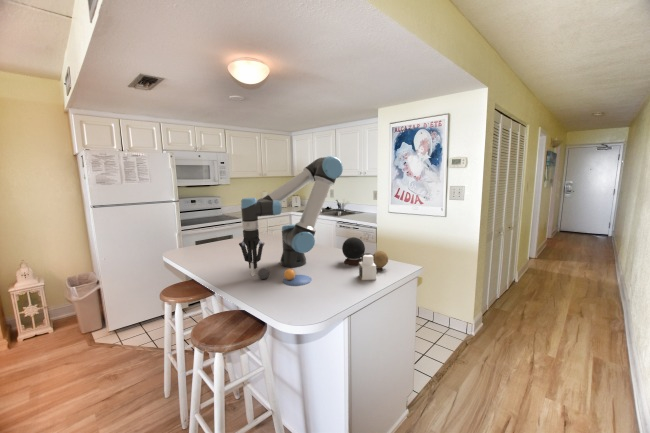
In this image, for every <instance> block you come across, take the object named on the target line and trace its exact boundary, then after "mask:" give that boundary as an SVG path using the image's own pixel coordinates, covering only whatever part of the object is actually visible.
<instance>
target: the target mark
mask: <svg viewBox="0 0 650 433" xmlns="http://www.w3.org/2000/svg"><path fill="white" fill-rule="evenodd" d="M282 282H283V284H284V285H287V286H291V287H292V286H293V287H294V286H295V287H299V286H304V285H308V284H310V283H311V282H312V277H311V276H309V275H305V274H295V277H294V279H292V280H287V279H286V278H285V277H284V279H283V281H282Z"/></svg>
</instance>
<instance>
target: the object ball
mask: <svg viewBox="0 0 650 433" xmlns="http://www.w3.org/2000/svg"><path fill="white" fill-rule="evenodd" d="M295 275H296V272H295V270H293V269H292V268H287V269H286V270H285V271H284V273H283V276H284V279H285V278H286V279H287V280H292V279H294V277H295Z"/></svg>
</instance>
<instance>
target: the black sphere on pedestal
mask: <svg viewBox="0 0 650 433" xmlns="http://www.w3.org/2000/svg"><path fill="white" fill-rule="evenodd" d="M341 247H342V249H341V250H342V254H343V256H344V257H345V260H343V264H344V265H346V266H353V267H356V266H358V267H359V262H361V255H362V254H365V253H366V245H365V243H364V242H363V241H362V240H361V239H360V238H359V237H354V236H353V237H348V238H347V239H346V240H344V242H343V243H342V246H341Z"/></svg>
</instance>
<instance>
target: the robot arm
mask: <svg viewBox="0 0 650 433" xmlns="http://www.w3.org/2000/svg"><path fill="white" fill-rule="evenodd" d="M343 170H344V166H343V163H342V161H341V160H340V159H339V158H338V157H336V156H332V155H331V156H326V157H325V156H324V157H319V158H317V159H315V160H313V161H312V162H311V163H309V164H308V165H307V166H305V167H304V168H303V170H302V171H301V172H300V173H298V174H296V175H295V176H294V177H292V178H290V179H288V181H286V182H285V183H283V184H281V185H280V186H278V187H277V188H276V189H274V190H273V191H271V192H269V193H268V194H267V195H265V196H264V197H262V198H259V199H257V198H256V197H244V198H243V197H242V199H241V201H240V208H241V210H240V211H241V220H242V229H243V230H242V234H243V236H242V237H243V238H242V241H241V242H239V243H238V246H239V247H240V248H241V252H242V255H243V259H244V261H245V262H248V268H249V270H250V275H251V276H253V277H254V276H256V275H257V268H258V263H259V262H260V261H261V260H262V254H263V250H264V249H263V247H264V245H265V242H263V241H261V239H260V233H259V232H260V230H259V218H260V217H267V216H269V217H271V216H278V215H281V213H282V211H283V209H282V207H283V206H282V202H283V201H285V200H287V199H288V198H290V197H292V195H294V194H295V193H297V192H298V191H300V190H301V189H302V188H304V187H305V186H307V185H308V184H310V183H313V186H312V189H311V191H310V192H309V193H310V194H309V196H308V199H307V201H306V204H305V207H304V209H303V212H302V215H301V217H300V219H299V222H296V223H295V224H293V223H292V224H285V225H283V226H282V227H281V238H282V239H281V240H282V254H281V256H280V265H281V267H286V268H295V267H296V268H297V267H301V266H305V265H306V264H307V257H306V255H305V254H306V253H309V252H310V251H311V250H312V249H313V248H314V246H315V242H316V240H315V237H314V236H315V235H316V228H315V226H316V224H317V222H318V218H319V216H320V214H321V211H322V208H323V206H324V203H325V201H326V198H327V196H328V193H329V190H330V188H331V187H332V186H334V185H335V182H336V181H337V180H336V179H338V178H340V177H341V176H342V173H343ZM257 248H258V250H257Z"/></svg>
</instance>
